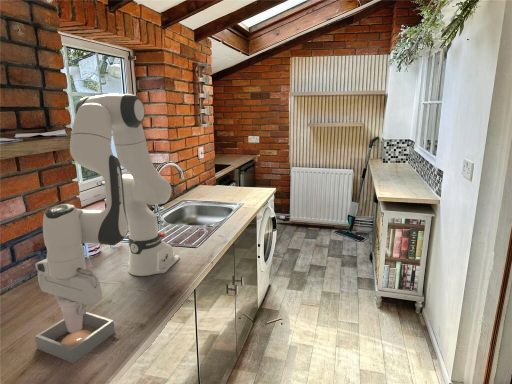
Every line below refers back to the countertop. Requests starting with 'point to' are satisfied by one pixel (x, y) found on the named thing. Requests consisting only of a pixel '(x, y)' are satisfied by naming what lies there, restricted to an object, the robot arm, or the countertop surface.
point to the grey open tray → (82, 348)
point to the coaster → (75, 337)
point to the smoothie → (71, 314)
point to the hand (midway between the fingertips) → (73, 311)
